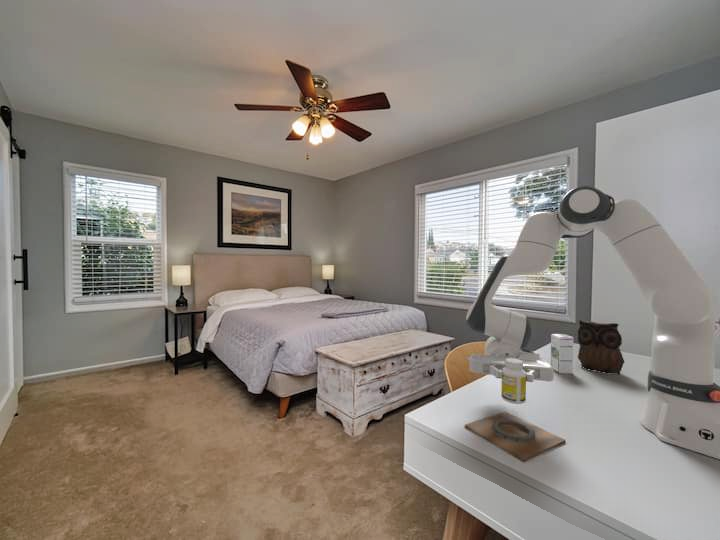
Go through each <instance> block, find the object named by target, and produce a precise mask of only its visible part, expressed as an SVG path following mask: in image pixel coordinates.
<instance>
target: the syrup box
mask: <svg viewBox="0 0 720 540" xmlns="http://www.w3.org/2000/svg"><path fill="white" fill-rule="evenodd" d="M550 335H551V337H550V364H551V365H552V366H553V368H554V372H557V373H558V374H573V373H574V337H573V336H570V335H568V334H563V333H552V334H550Z"/></svg>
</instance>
